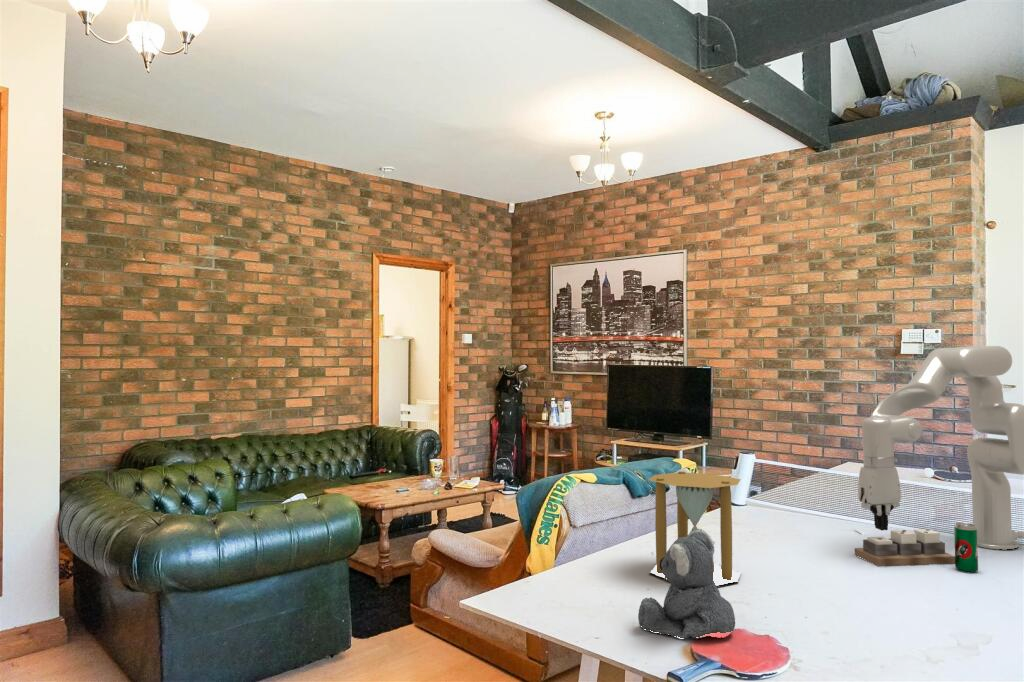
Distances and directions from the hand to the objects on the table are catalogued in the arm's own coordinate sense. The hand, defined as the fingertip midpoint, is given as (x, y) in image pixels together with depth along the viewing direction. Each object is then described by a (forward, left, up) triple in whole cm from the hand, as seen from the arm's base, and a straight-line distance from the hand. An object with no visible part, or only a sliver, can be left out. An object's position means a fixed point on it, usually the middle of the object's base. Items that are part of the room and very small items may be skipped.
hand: (881, 529), depth 192 cm
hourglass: (+56, +6, -9) cm, 57 cm away
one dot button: (+1, 0, -6) cm, 6 cm away
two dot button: (-13, 0, -4) cm, 14 cm away
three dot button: (-6, 0, -5) cm, 8 cm away
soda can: (-16, +11, -9) cm, 21 cm away
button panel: (-6, 0, -9) cm, 11 cm away
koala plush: (+70, +41, -9) cm, 81 cm away
